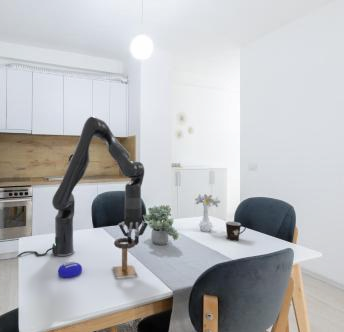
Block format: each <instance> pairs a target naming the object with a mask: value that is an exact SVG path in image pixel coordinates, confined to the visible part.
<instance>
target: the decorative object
mask: <svg viewBox="0 0 344 332" xmlns="http://www.w3.org/2000/svg"><path fill="white" fill-rule="evenodd" d="M82 271H83V266H82V264H80V263H78V262H75V261H74V260H73V261H68V262H64V263H62V264H61V265H59V267H58V268H57V274H58V275H59V277H61V278H65V279H71V278H74V277H77V276H79V275H80V274H81V273H82Z"/></svg>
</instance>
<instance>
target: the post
mask: <svg viewBox="0 0 344 332" xmlns="http://www.w3.org/2000/svg"><path fill="white" fill-rule="evenodd" d="M112 269H113V271H114V274H115V277H116V278H119V277H129V276H137V275H138V273H137V272H136V269H134V266H133V265H132V264H128V249H121V265H118V266H112Z"/></svg>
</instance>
